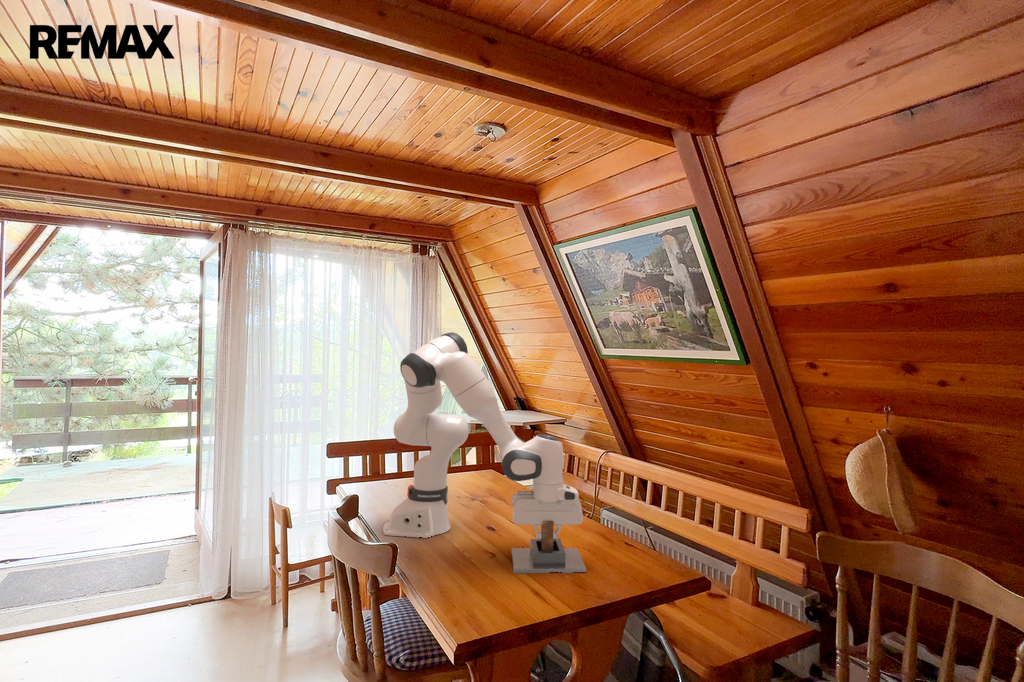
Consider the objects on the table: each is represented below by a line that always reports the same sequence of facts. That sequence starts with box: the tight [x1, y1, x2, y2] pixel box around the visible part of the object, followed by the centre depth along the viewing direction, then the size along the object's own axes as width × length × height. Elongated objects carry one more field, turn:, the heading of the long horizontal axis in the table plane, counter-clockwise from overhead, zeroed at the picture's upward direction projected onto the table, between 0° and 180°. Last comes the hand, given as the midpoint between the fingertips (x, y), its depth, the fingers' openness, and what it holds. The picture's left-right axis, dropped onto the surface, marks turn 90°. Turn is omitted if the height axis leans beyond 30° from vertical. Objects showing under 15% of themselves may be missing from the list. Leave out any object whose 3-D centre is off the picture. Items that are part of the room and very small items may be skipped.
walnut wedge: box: [540, 521, 555, 551], centre depth 155 cm, size 3×5×10 cm, turn 3°
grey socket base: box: [511, 538, 587, 574], centre depth 155 cm, size 20×15×5 cm
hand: (547, 539), depth 155 cm, fingers closed on walnut wedge, 3 cm apart
